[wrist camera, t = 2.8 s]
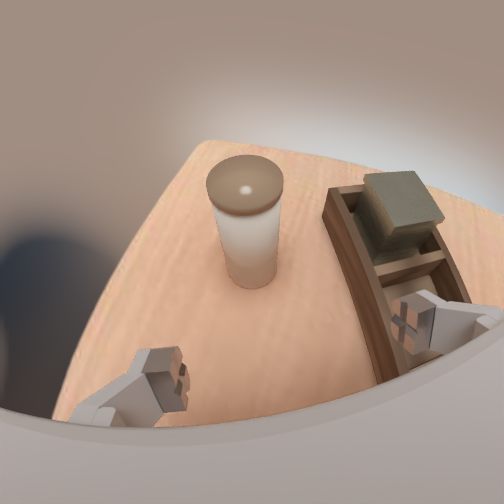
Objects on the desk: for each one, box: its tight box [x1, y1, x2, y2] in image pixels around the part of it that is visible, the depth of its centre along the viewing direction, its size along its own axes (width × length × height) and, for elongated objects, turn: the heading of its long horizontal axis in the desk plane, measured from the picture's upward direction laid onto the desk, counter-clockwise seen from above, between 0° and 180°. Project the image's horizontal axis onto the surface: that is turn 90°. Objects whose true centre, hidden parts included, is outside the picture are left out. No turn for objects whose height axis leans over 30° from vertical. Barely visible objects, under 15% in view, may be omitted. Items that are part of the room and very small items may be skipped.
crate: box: [322, 184, 472, 385], centre depth 26 cm, size 11×21×5 cm, turn 10°
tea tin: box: [352, 171, 445, 266], centre depth 26 cm, size 6×6×8 cm
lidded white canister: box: [206, 155, 284, 289], centre depth 24 cm, size 5×5×13 cm
